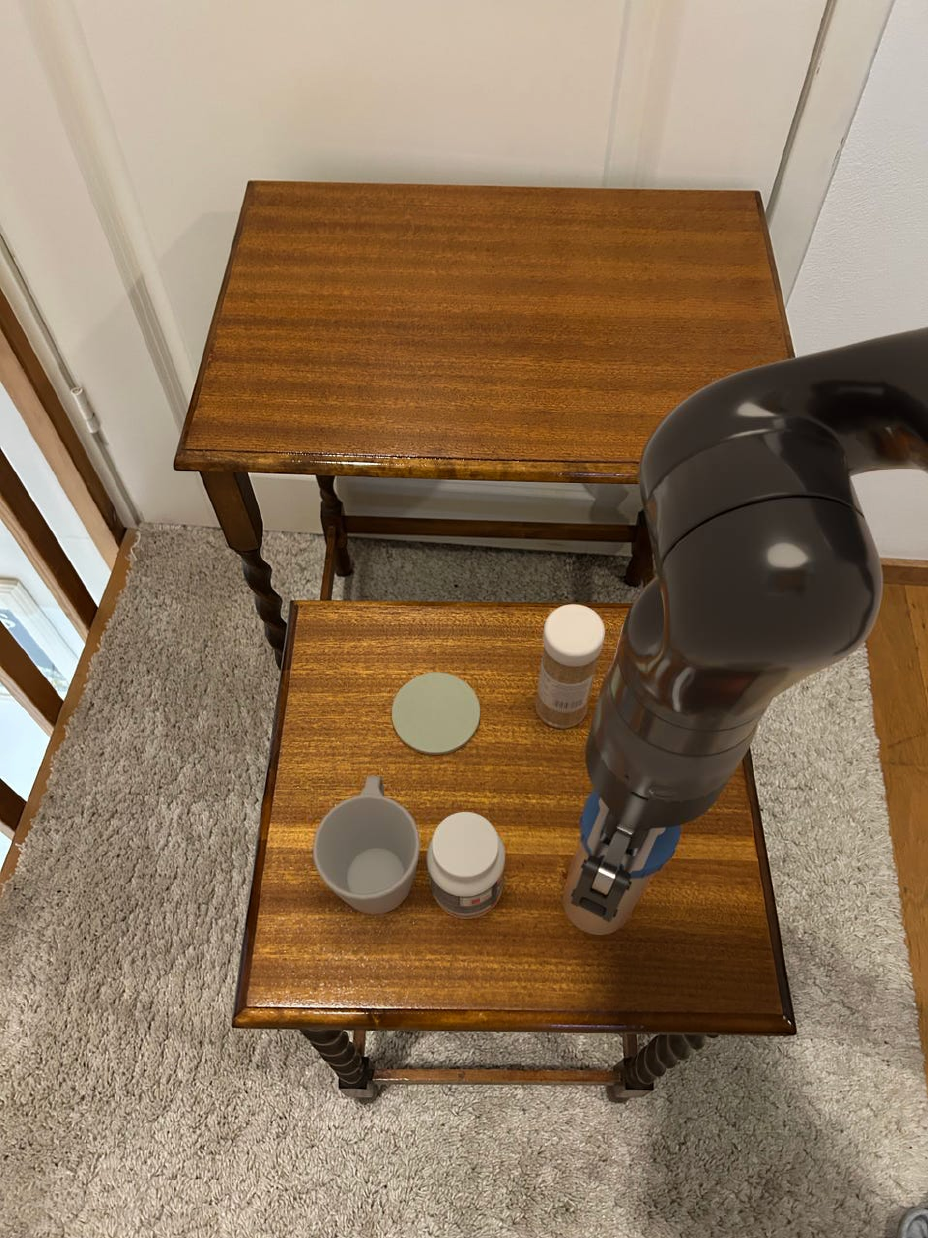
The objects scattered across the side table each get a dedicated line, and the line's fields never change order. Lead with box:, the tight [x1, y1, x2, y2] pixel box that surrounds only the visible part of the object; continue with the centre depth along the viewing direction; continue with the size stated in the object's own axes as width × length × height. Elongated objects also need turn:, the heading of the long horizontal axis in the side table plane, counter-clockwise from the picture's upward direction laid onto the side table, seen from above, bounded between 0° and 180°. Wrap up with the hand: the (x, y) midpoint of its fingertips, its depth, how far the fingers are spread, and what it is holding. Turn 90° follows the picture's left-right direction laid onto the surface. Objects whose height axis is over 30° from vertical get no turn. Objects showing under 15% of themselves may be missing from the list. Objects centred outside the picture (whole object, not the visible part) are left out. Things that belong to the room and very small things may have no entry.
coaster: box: [391, 671, 481, 756], centre depth 80 cm, size 8×8×1 cm
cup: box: [312, 775, 421, 916], centre depth 70 cm, size 8×10×8 cm
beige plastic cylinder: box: [561, 835, 657, 936], centre depth 65 cm, size 5×5×18 cm
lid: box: [578, 789, 682, 879], centre depth 58 cm, size 6×6×2 cm
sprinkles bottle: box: [534, 603, 606, 730], centre depth 75 cm, size 5×5×13 cm
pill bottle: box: [426, 811, 506, 920], centre depth 69 cm, size 6×6×10 cm
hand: (624, 831), depth 60 cm, fingers open, 8 cm apart
